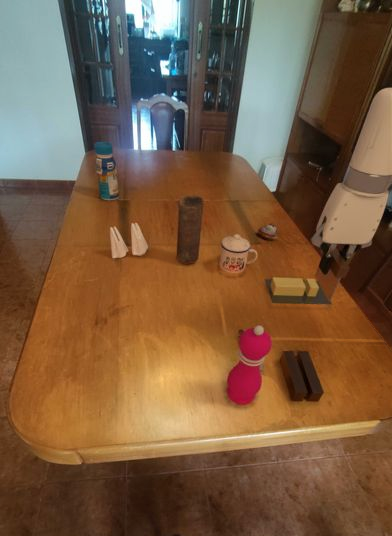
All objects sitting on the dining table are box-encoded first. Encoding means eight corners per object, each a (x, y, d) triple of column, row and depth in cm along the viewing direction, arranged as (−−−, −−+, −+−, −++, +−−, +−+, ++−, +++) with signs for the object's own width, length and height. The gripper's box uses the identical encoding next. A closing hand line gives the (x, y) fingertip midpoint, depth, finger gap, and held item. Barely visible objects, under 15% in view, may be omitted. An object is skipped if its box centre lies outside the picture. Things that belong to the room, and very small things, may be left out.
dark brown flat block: (319, 275, 75) (332, 242, 69) (334, 301, 68) (349, 267, 62) (311, 275, 75) (323, 242, 69) (325, 301, 68) (340, 267, 62)
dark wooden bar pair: (303, 360, 78) (308, 351, 75) (318, 401, 70) (324, 392, 67) (279, 360, 77) (283, 350, 75) (291, 401, 69) (296, 392, 67)
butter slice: (311, 287, 98) (314, 278, 96) (315, 296, 95) (319, 287, 92) (303, 287, 98) (306, 278, 95) (307, 296, 94) (310, 287, 92)
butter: (298, 287, 98) (302, 278, 95) (302, 296, 94) (306, 287, 92) (270, 286, 97) (272, 277, 95) (273, 295, 94) (275, 286, 91)
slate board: (318, 284, 102) (320, 280, 101) (330, 307, 93) (332, 304, 92) (263, 282, 100) (264, 278, 99) (271, 306, 92) (272, 302, 91)
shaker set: (148, 251, 108) (146, 219, 100) (149, 258, 106) (147, 225, 98) (112, 252, 107) (108, 220, 99) (112, 258, 104) (107, 226, 96)
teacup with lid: (218, 275, 101) (223, 241, 93) (217, 260, 107) (221, 227, 99) (255, 277, 102) (263, 244, 93) (252, 262, 108) (259, 229, 99)
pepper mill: (217, 390, 70) (230, 323, 55) (240, 375, 73) (258, 308, 59) (241, 413, 66) (261, 347, 52) (263, 395, 70) (288, 329, 55)
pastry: (281, 237, 122) (284, 225, 118) (268, 243, 118) (271, 230, 115) (265, 229, 126) (268, 217, 122) (252, 234, 122) (255, 221, 119)
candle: (202, 263, 105) (208, 202, 91) (183, 268, 102) (186, 206, 88) (190, 252, 110) (194, 192, 95) (172, 257, 107) (173, 196, 92)
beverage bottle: (99, 193, 139) (91, 140, 125) (118, 193, 141) (113, 140, 127) (100, 201, 134) (92, 147, 119) (120, 200, 136) (115, 147, 121)
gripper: (399, 174, 58) (357, 262, 72) (316, 170, 57) (288, 261, 71) (421, 190, 53) (371, 282, 67) (330, 186, 52) (297, 280, 65)
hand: (329, 270), depth 68 cm, fingers closed on dark brown flat block, 2 cm apart
